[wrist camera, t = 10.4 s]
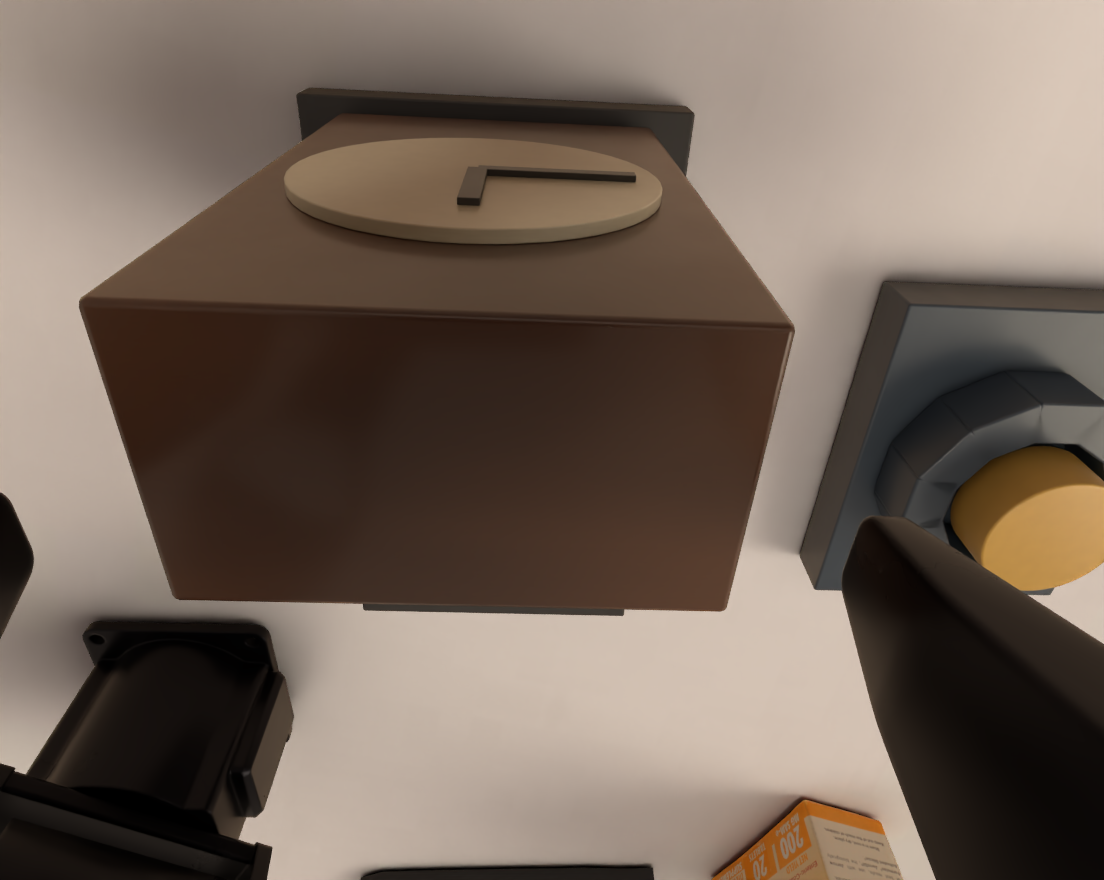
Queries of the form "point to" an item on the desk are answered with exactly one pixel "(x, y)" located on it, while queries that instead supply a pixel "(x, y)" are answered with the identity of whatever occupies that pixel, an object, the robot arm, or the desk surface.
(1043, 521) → the button
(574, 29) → the desk surface
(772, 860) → the supplement box
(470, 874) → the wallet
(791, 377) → the desk surface
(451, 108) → the dark grey flat slab
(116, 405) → the alarm clock
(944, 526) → the switch block
